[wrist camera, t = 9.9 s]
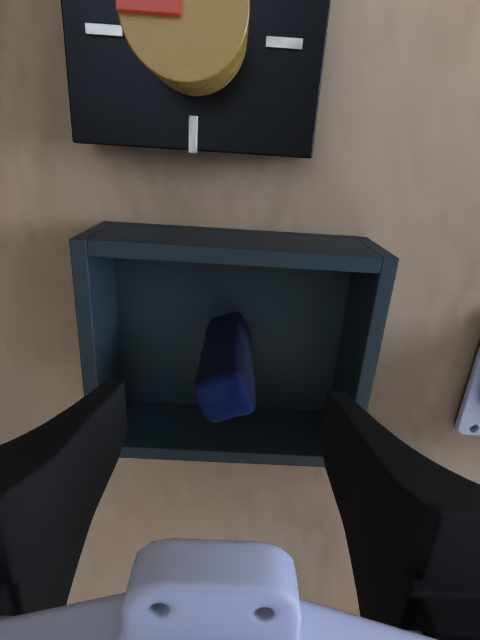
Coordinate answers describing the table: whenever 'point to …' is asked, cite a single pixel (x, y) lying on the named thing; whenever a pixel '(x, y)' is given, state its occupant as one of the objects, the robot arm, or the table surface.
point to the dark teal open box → (216, 300)
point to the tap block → (199, 111)
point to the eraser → (226, 369)
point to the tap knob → (188, 40)
